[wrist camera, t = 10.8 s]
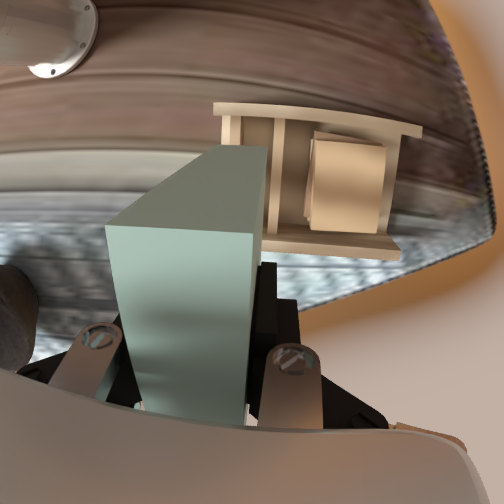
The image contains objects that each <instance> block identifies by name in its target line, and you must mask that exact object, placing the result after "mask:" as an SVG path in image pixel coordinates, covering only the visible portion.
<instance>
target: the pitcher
mask: <svg viewBox="0 0 504 504" xmlns="http://www.w3.org/2000/svg"><path fill="white" fill-rule="evenodd" d="M37 316H38V299H37V295H36V293H35V291H34V289H33V287H32V285H31V283H30V282H29V280H28V278H27V276H26V275H24V273H23V272H22V271H21V270H19V269H18V268H16V267H12V266H9V265H0V368H2V369H5V370H8V371H10V370H14V371H18V370H19V369H21V368H22V367H23V366H26V365H27V364H28V362H29V361H30V359H31V357H32V354H33V350H34V346H35V336H36V322H37Z"/></svg>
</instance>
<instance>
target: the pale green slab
mask: <svg viewBox="0 0 504 504" xmlns="http://www.w3.org/2000/svg"><path fill="white" fill-rule="evenodd" d="M266 164H267V147H263V146H244V145H216V146H214V147H213V148H211V149H210V150H208V151H206V152H205V153H203V154H202V155H200V156H199V157H197V158H196V159H194V160H193V161H191V162H190V163H188V164H187V165H186V166H184V167H183V168H181V169H180V170H178V171H177V172H175V173H174V174H173V175H171V176H170V177H168V178H167V179H165V180H164V181H163V182H161V183H160V184H158V185H157V186H156V187H154V188H153V189H152V190H150V191H149V192H147V193H146V194H145V195H143V196H142V197H141V198H139V199H138V200H137V201H135V202H134V203H133V204H131V205H130V206H129V207H127V208H126V209H125V210H124V211H122V212H121V213H120V214H118V215H117V216H116V217H115V218H113V219H112V220H111V221H110V222H108V223H107V224H106V225H105V230H106V237H107V244H108V251H109V258H110V264H111V270H112V276H113V282H114V287H115V292H116V298H117V303H118V308H119V312H120V317H121V322H122V326H123V330H124V335H125V339H126V343H127V347H128V351H129V355H130V359H131V363H132V366H133V370H134V374H135V377H136V381H137V384H138V388H139V391H140V394H141V398H142V401H143V404H144V407H145V410H146V411H148V412H153V413H158V414H164V415H169V416H175V417H181V418H188V419H194V420H202V421H209V422H217V423H225V424H235V425H246V420H247V410H248V404H246V396H247V379H248V361H249V344H250V330H251V321H252V312H253V303H254V293H255V284H256V275H257V266H258V265H260V261H261V245H262V230H263V214H264V198H265V181H266Z"/></svg>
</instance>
